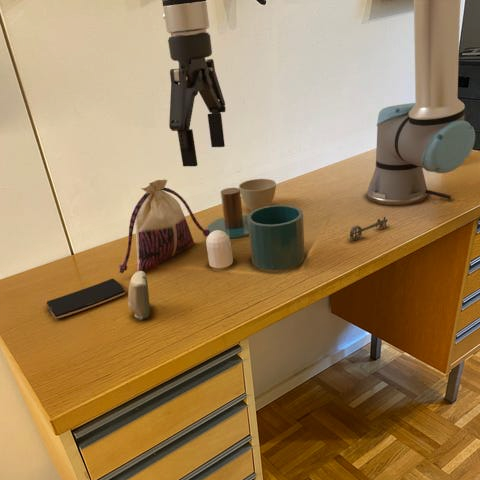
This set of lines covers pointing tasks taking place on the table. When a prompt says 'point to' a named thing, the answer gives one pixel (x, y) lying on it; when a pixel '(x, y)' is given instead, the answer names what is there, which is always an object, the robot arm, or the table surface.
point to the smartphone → (85, 298)
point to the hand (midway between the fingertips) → (205, 156)
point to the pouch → (159, 227)
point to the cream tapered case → (139, 296)
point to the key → (357, 236)
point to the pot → (276, 237)
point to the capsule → (219, 249)
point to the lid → (231, 215)
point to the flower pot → (257, 193)
